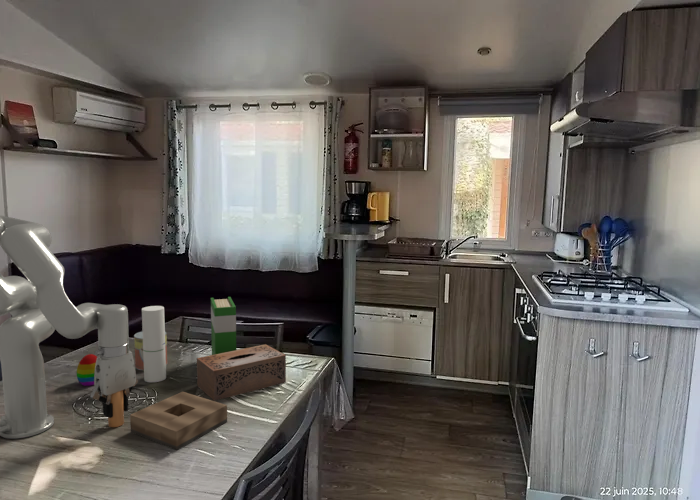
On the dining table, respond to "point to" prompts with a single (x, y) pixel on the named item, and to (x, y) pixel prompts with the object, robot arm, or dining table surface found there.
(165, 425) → the block
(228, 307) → the hardback book
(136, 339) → the canned food
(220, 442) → the dining table surface
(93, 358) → the decorative egg
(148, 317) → the cylindrical container
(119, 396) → the pin
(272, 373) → the tissue box cover
